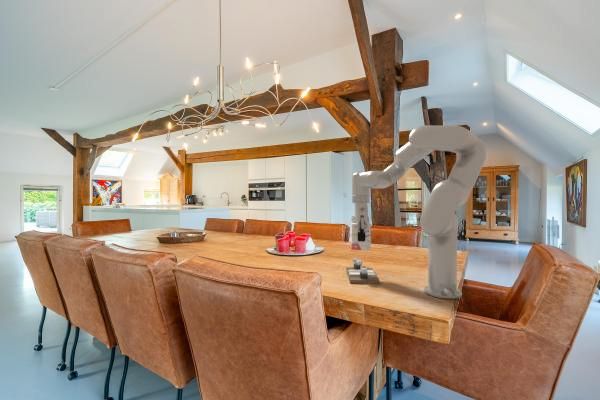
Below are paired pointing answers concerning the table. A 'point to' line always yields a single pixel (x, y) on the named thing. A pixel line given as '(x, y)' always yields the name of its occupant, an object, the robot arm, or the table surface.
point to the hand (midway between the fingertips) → (360, 239)
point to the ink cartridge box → (354, 236)
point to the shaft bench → (362, 281)
